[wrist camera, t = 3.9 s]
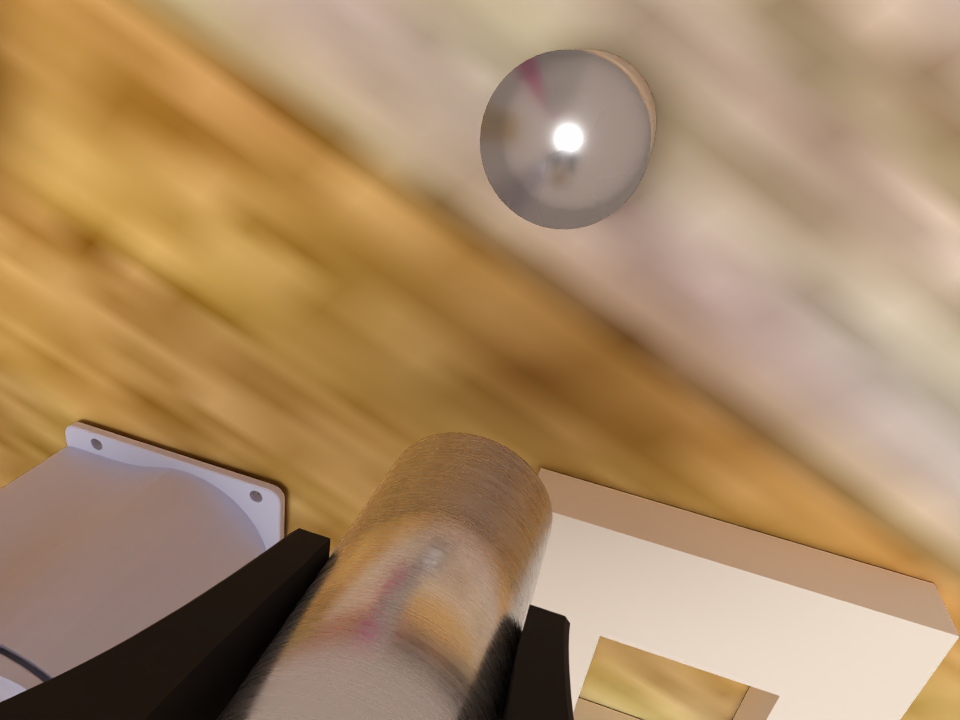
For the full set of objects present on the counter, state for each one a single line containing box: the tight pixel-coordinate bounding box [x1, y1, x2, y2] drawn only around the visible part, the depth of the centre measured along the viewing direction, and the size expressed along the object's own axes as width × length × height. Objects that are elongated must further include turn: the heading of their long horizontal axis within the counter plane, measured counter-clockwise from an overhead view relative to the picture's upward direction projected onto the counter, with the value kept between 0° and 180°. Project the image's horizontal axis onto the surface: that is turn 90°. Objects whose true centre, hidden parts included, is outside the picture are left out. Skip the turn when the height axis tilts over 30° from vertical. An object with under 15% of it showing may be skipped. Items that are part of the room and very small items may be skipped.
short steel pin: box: [480, 49, 657, 229], centre depth 15 cm, size 4×4×4 cm
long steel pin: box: [217, 433, 553, 720], centre depth 11 cm, size 4×4×8 cm
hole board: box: [531, 468, 959, 720], centre depth 23 cm, size 12×14×2 cm
